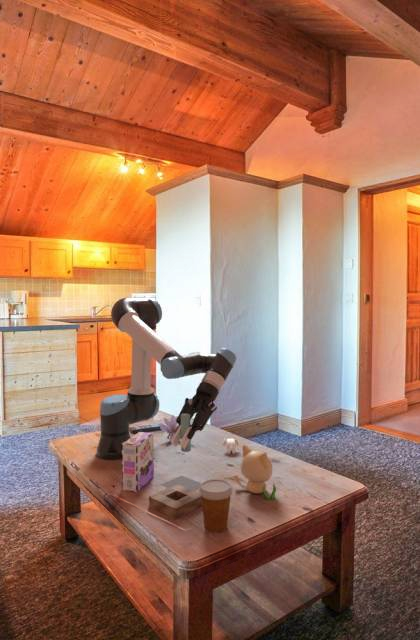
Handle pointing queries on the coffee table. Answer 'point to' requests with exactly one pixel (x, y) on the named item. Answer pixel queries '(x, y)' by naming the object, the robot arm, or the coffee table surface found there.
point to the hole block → (170, 506)
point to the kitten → (255, 471)
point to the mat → (183, 483)
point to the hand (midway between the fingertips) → (177, 445)
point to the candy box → (137, 461)
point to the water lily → (170, 427)
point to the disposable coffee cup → (215, 504)
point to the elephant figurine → (230, 444)
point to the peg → (184, 426)
